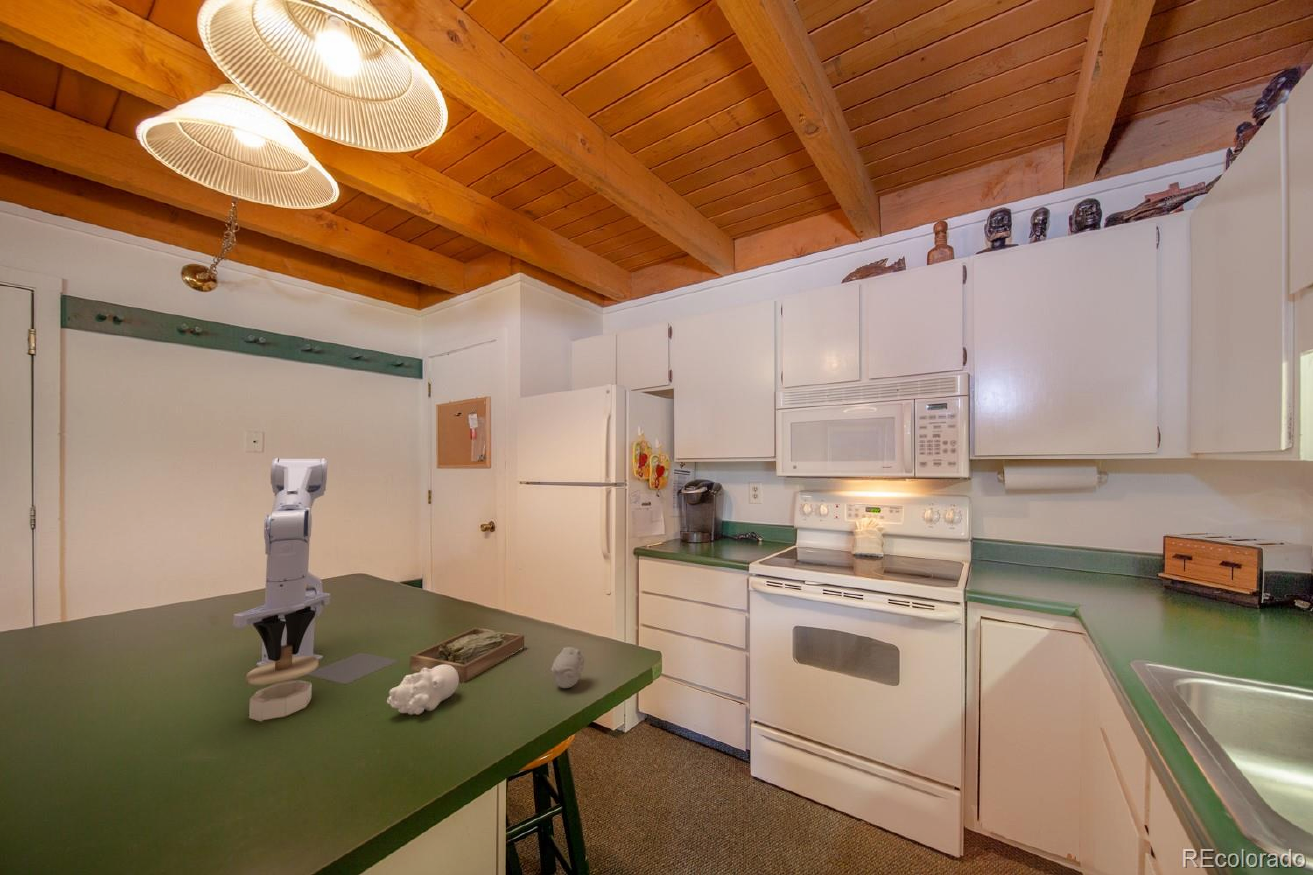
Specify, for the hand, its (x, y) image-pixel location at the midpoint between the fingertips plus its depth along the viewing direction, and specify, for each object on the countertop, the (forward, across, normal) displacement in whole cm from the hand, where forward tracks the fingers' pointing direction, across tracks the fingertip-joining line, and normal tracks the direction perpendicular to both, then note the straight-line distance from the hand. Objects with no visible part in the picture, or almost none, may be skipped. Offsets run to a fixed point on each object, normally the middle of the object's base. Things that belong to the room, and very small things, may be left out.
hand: (283, 656), depth 84 cm
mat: (+9, +16, +4) cm, 19 cm away
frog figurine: (+9, +26, -42) cm, 50 cm away
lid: (+3, 0, 0) cm, 3 cm away
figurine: (+9, +10, -23) cm, 27 cm away
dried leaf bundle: (+9, +29, -16) cm, 34 cm away
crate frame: (+9, +29, -15) cm, 34 cm away
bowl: (+9, 0, 0) cm, 9 cm away
